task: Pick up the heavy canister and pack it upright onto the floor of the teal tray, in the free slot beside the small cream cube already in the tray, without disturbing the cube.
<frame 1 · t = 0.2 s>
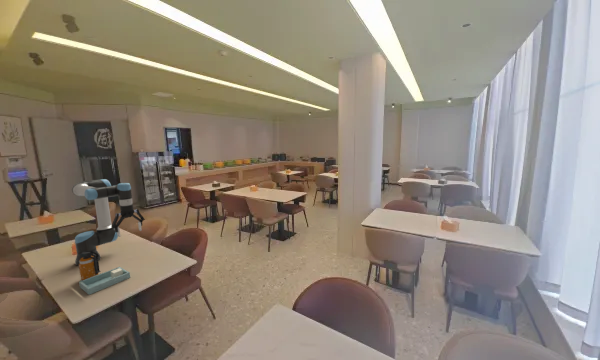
hand: (130, 233, 168), 28 cm above the table, fingers open, 13 cm apart
canister: (92, 279, 159), on the table
teal tray: (106, 283, 154), on the table
cream cube: (117, 277, 160), point 1 cm above the table, touching teal tray
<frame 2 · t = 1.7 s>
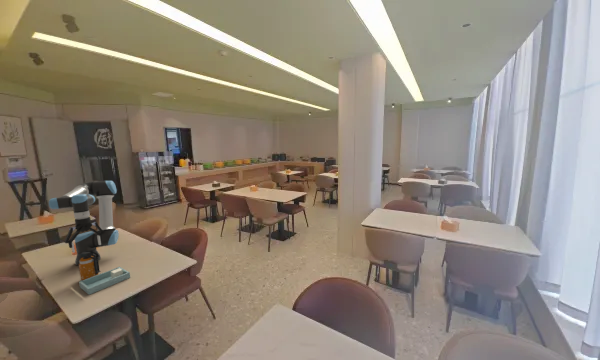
hand: (87, 248, 156), 23 cm above the table, fingers open, 13 cm apart
nothing on the table moved.
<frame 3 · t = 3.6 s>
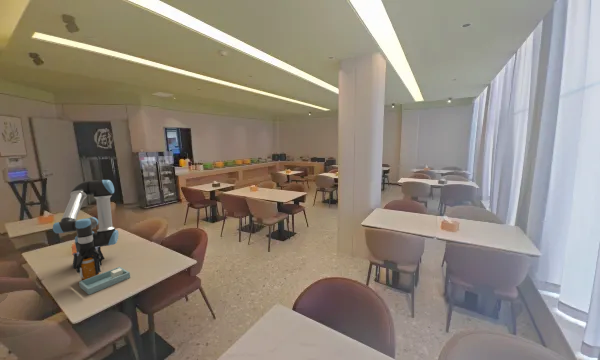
hand: (90, 273, 158), 5 cm above the table, fingers closed on canister, 9 cm apart
canister: (92, 279, 160), on the table, touching gripper
everything else where it was.
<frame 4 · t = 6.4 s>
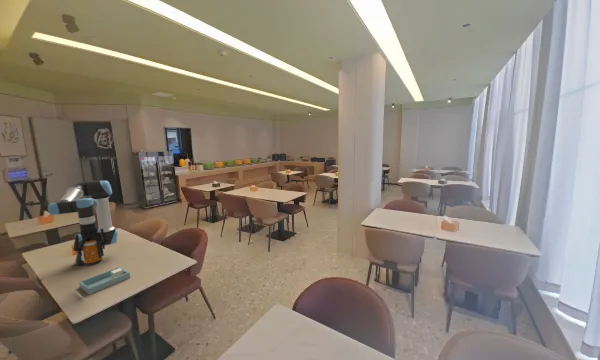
hand: (92, 257, 148), 20 cm above the table, fingers closed on canister, 9 cm apart
canister: (95, 263, 149), point 16 cm above the table, touching gripper
everything else where it was.
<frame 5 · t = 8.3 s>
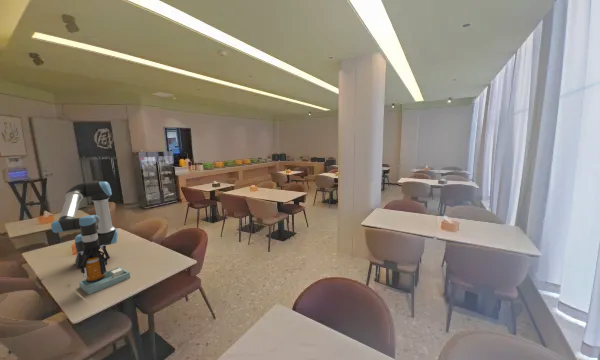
hand: (95, 273, 149), 9 cm above the table, fingers closed on canister, 9 cm apart
canister: (97, 280, 150), point 4 cm above the table, touching gripper
everything else where it was.
when the fingers open (7 cm above the table, at t = 9.3 s): canister drops 1 cm, resting on teal tray.
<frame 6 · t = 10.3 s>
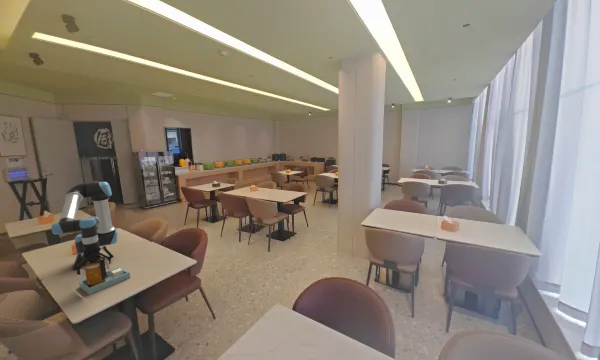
hand: (95, 273, 149), 9 cm above the table, fingers open, 13 cm apart
canister: (98, 285, 151), point 1 cm above the table, touching teal tray
everything else where it was.
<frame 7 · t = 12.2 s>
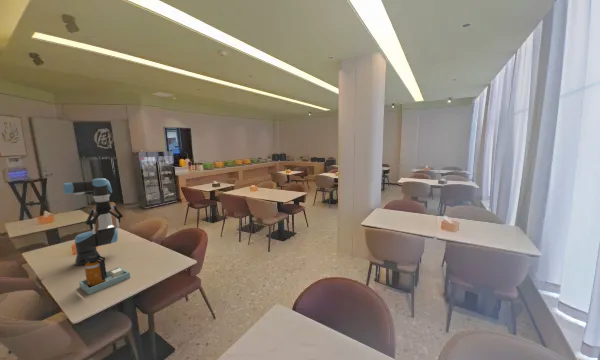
hand: (106, 230, 162), 32 cm above the table, fingers open, 13 cm apart
nothing on the table moved.
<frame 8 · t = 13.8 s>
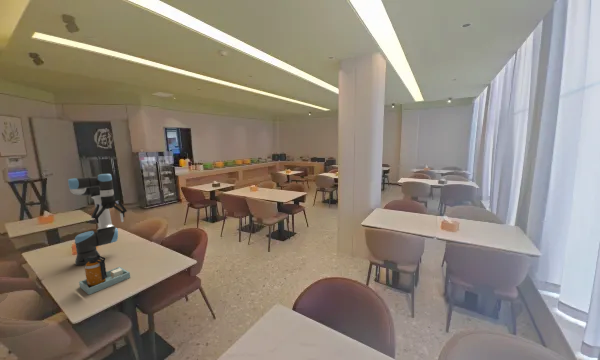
hand: (111, 224, 168), 35 cm above the table, fingers open, 13 cm apart
nothing on the table moved.
at the end: canister inside the target area on the teal tray (0.7 cm from its centre), point 0.6 cm above the teal tray's base; canister tilted 0°; cream cube moved 0.0 cm from its start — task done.
